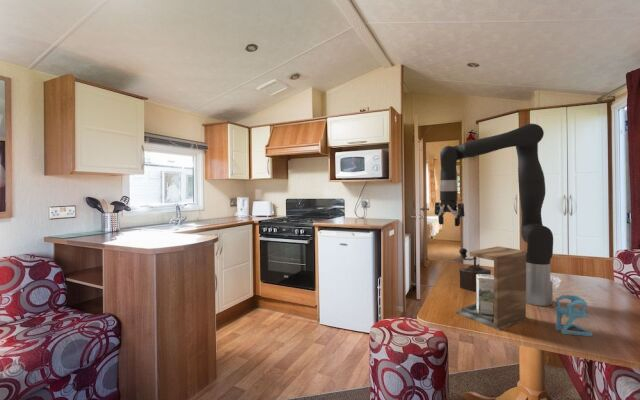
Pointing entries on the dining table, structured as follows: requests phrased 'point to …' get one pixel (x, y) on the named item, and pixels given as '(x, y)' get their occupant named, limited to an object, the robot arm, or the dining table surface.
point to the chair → (571, 315)
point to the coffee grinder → (470, 273)
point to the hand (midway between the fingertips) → (448, 225)
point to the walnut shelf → (503, 288)
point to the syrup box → (485, 294)
